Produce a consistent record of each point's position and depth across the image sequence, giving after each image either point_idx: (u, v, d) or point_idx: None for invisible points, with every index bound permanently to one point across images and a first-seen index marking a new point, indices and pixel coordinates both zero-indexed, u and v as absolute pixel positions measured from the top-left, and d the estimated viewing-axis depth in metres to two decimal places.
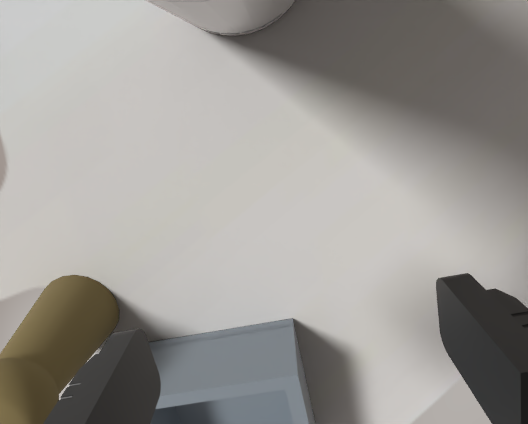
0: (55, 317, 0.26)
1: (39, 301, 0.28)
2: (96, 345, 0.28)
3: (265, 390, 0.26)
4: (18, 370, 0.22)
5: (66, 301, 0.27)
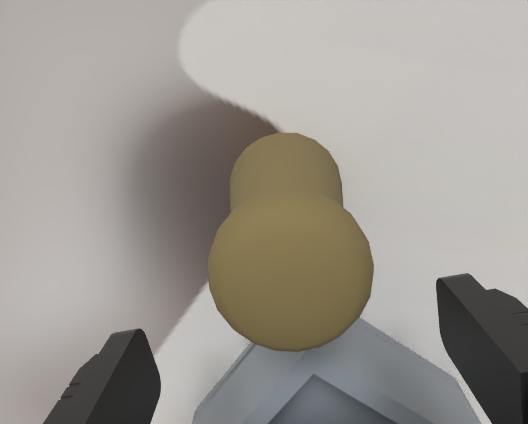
0: (338, 191, 0.17)
1: (301, 149, 0.18)
2: None
3: None
4: None
5: (337, 180, 0.18)
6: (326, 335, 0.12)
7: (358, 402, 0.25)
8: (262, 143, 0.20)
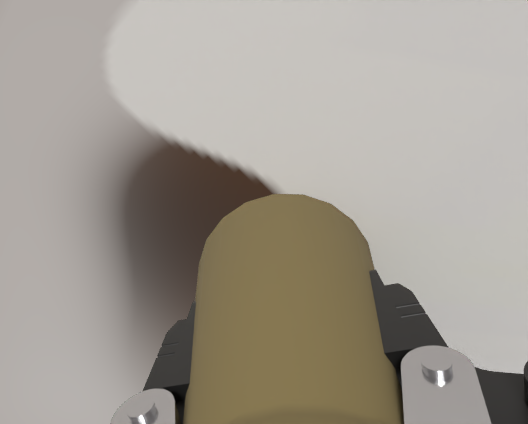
0: None
1: (313, 232, 0.11)
2: None
3: None
4: None
5: None
6: None
7: None
8: (247, 216, 0.12)
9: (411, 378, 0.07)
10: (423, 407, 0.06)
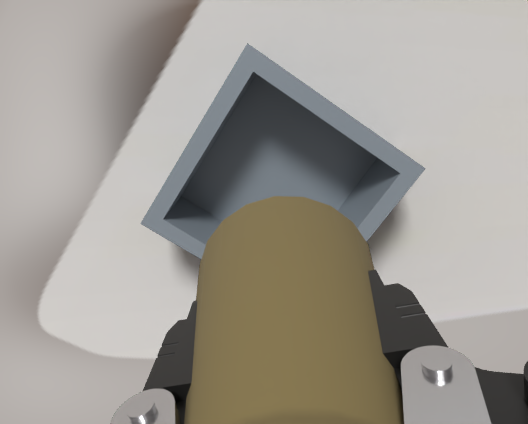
0: None
1: (313, 235, 0.11)
2: None
3: (384, 159, 0.23)
4: None
5: None
6: None
7: (308, 170, 0.28)
8: (248, 219, 0.12)
9: (411, 378, 0.07)
10: (423, 407, 0.06)
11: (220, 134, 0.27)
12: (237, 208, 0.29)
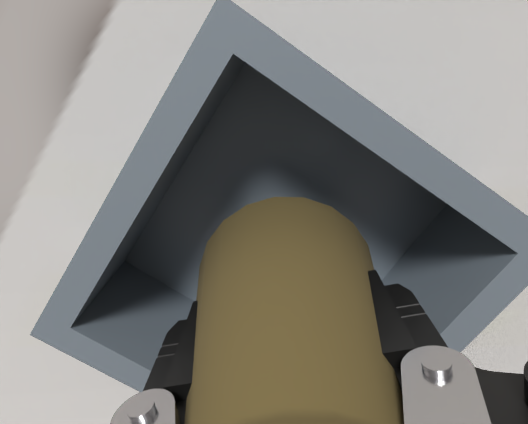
0: None
1: (313, 235, 0.11)
2: None
3: (489, 227, 0.12)
4: None
5: None
6: None
7: None
8: (248, 219, 0.12)
9: (411, 378, 0.07)
10: (423, 407, 0.06)
11: (185, 164, 0.16)
12: None
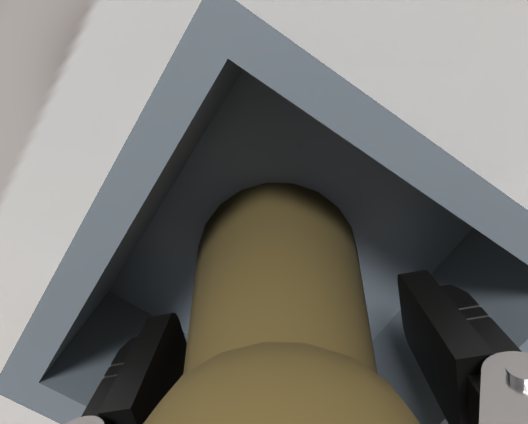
0: (359, 290, 0.11)
1: (299, 215, 0.12)
2: None
3: None
4: None
5: (355, 262, 0.12)
6: None
7: None
8: (242, 202, 0.13)
9: (497, 387, 0.06)
10: (519, 420, 0.06)
11: (176, 183, 0.14)
12: None
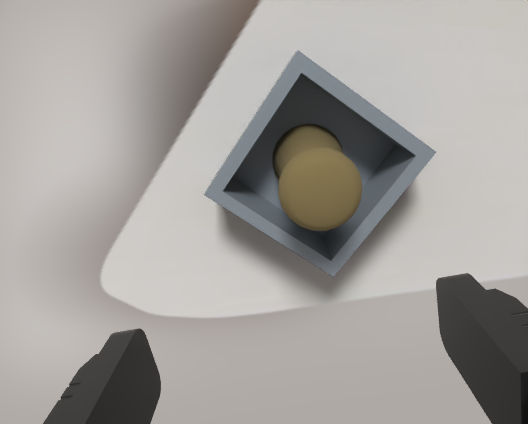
0: None
1: (320, 132, 0.31)
2: None
3: (403, 143, 0.28)
4: None
5: (342, 151, 0.31)
6: (339, 218, 0.24)
7: None
8: (295, 130, 0.32)
9: None
10: None
11: None
12: (276, 186, 0.35)
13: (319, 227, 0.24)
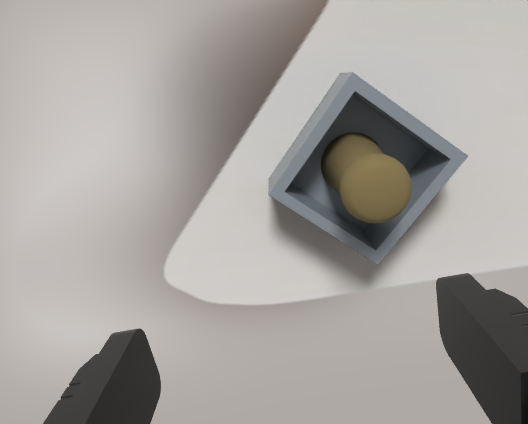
0: None
1: (365, 140, 0.36)
2: None
3: (440, 149, 0.33)
4: None
5: None
6: (393, 212, 0.29)
7: None
8: (342, 138, 0.37)
9: None
10: None
11: None
12: (323, 187, 0.40)
13: (376, 220, 0.29)
